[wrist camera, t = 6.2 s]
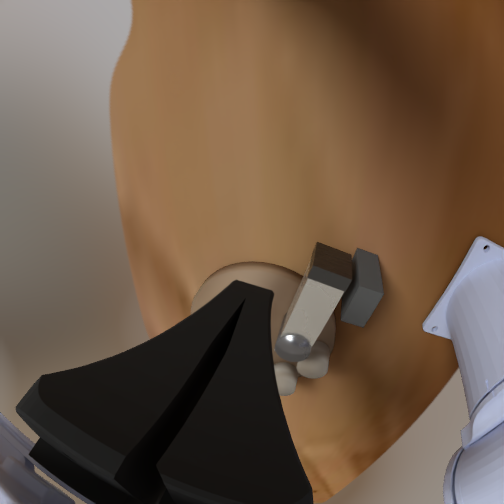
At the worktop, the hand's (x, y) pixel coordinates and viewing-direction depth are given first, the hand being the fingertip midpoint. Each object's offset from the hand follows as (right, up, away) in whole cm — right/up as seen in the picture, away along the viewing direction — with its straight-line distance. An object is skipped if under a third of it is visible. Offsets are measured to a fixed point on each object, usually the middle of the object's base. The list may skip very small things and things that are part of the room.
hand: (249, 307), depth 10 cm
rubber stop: (+7, +1, +8) cm, 11 cm away
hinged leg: (+4, -1, +8) cm, 9 cm away
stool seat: (+1, -4, +13) cm, 13 cm away
